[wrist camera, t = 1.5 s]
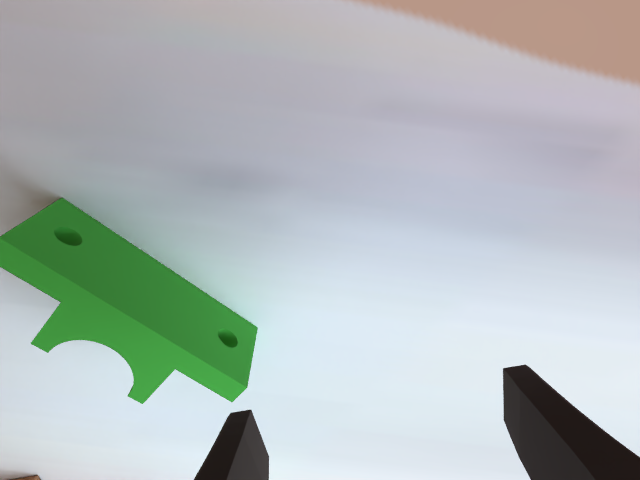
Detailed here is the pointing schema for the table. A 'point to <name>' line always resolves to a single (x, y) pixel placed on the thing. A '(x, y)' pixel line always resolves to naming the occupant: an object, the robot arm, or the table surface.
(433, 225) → the table surface
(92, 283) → the pipe clamp
